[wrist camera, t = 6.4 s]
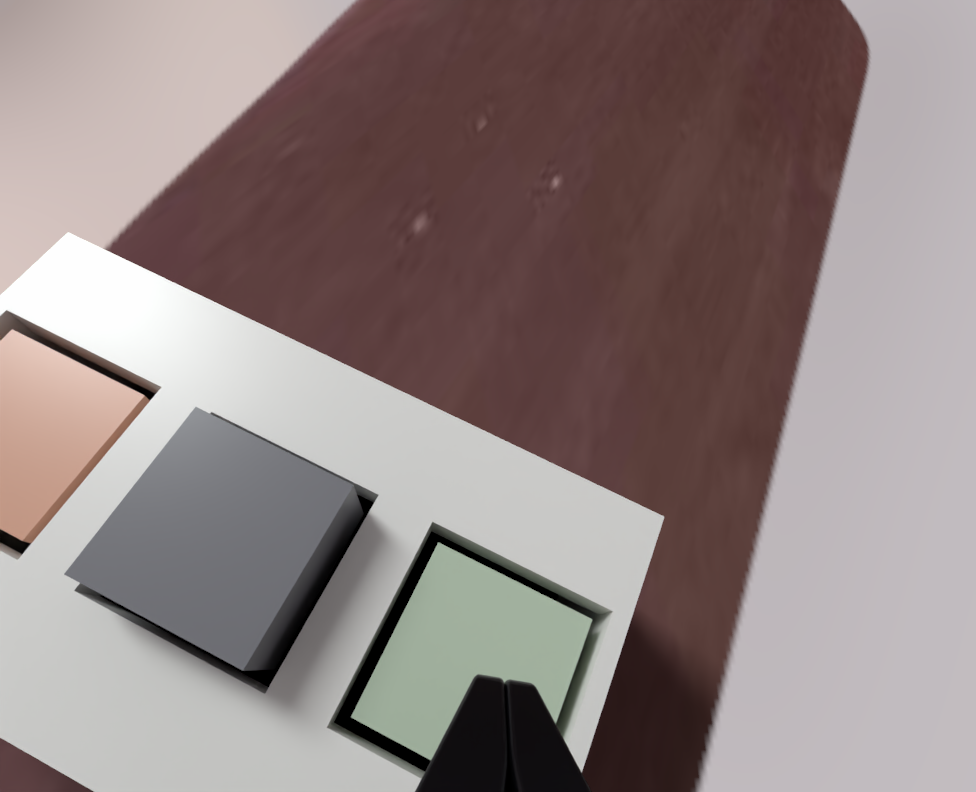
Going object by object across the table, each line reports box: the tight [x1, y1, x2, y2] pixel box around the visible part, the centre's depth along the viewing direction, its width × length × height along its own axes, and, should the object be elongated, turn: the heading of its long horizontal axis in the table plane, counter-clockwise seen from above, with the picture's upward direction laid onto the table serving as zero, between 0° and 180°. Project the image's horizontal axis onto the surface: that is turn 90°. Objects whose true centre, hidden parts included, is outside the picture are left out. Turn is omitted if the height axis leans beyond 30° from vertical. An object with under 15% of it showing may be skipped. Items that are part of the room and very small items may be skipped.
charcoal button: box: [64, 407, 364, 671], centre depth 12 cm, size 4×4×2 cm
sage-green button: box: [351, 542, 593, 760], centre depth 12 cm, size 4×4×2 cm
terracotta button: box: [0, 329, 150, 543], centre depth 13 cm, size 4×4×2 cm
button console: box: [0, 232, 664, 792], centre depth 15 cm, size 9×16×7 cm, turn 65°
